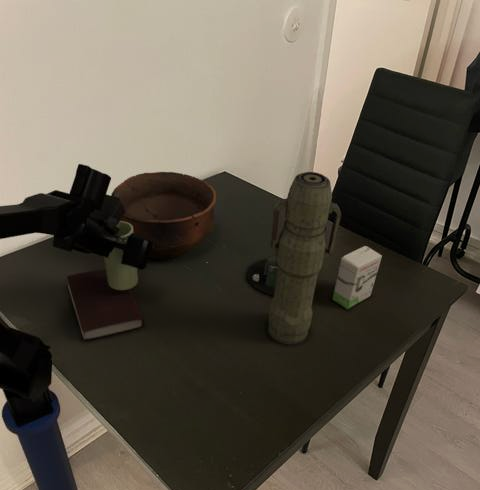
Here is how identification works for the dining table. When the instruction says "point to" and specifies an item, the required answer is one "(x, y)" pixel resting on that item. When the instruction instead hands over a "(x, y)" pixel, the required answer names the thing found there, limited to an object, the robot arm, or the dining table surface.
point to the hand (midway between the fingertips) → (123, 252)
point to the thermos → (300, 254)
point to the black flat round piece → (264, 275)
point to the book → (102, 306)
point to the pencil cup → (117, 272)
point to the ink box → (356, 276)
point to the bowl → (168, 210)
